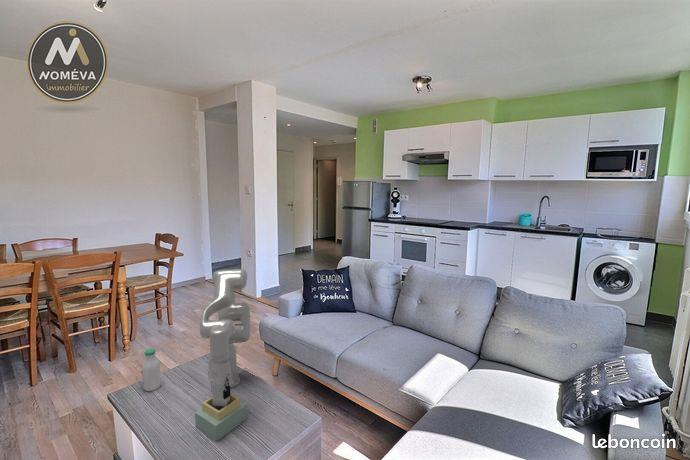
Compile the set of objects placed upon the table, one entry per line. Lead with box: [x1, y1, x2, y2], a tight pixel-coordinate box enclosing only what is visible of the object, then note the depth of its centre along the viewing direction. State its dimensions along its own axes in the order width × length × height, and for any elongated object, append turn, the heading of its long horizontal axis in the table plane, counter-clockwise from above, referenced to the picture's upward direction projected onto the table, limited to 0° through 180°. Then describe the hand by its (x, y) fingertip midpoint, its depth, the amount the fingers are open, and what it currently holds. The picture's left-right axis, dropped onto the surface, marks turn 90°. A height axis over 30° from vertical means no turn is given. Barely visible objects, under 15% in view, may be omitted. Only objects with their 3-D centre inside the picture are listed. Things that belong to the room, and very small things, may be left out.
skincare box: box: [211, 380, 230, 406], centre depth 140 cm, size 6×4×12 cm
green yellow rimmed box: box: [194, 392, 248, 442], centre depth 142 cm, size 16×14×10 cm
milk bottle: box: [141, 348, 162, 392], centre depth 164 cm, size 8×8×20 cm
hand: (221, 393), depth 140 cm, fingers closed on skincare box, 7 cm apart
